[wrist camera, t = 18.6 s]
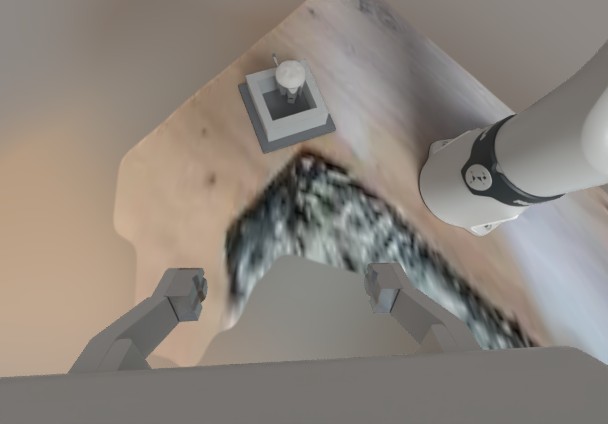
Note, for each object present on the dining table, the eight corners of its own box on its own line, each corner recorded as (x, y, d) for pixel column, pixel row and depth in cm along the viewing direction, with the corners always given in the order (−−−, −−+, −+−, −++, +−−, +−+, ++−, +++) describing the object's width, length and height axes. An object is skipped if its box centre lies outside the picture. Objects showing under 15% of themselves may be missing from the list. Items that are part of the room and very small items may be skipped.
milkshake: (282, 90, 44) (281, 42, 34) (306, 105, 44) (312, 60, 34) (269, 108, 43) (263, 63, 33) (293, 123, 43) (295, 83, 33)
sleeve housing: (307, 69, 46) (310, 50, 42) (335, 130, 44) (340, 117, 40) (238, 88, 44) (233, 70, 40) (263, 154, 42) (261, 142, 38)
